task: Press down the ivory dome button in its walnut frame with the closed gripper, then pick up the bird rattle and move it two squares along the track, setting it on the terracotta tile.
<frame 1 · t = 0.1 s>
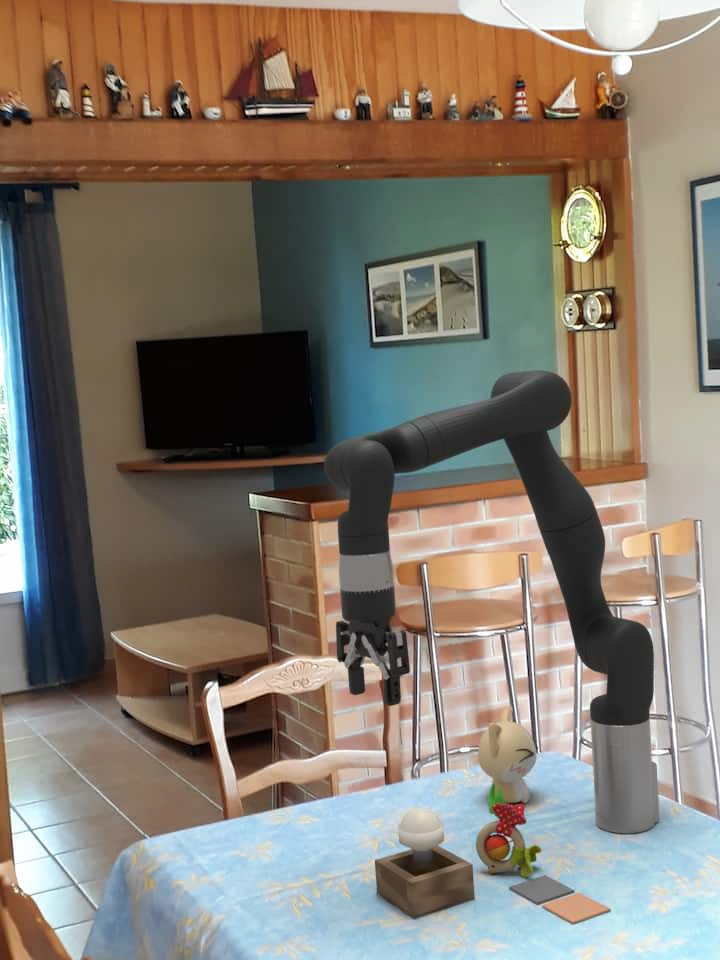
hand: (374, 699, 166), 29 cm above the table, tool pointing down, fingers open, 8 cm apart
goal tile: (576, 909, 162), on the table
button frame: (425, 896, 169), on the table
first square: (541, 890, 168), on the table
kitten: (509, 802, 204), on the table
bird rattle: (509, 875, 175), on the table
dome button: (421, 833, 168), point 9 cm above the table, slide at 0.0 cm
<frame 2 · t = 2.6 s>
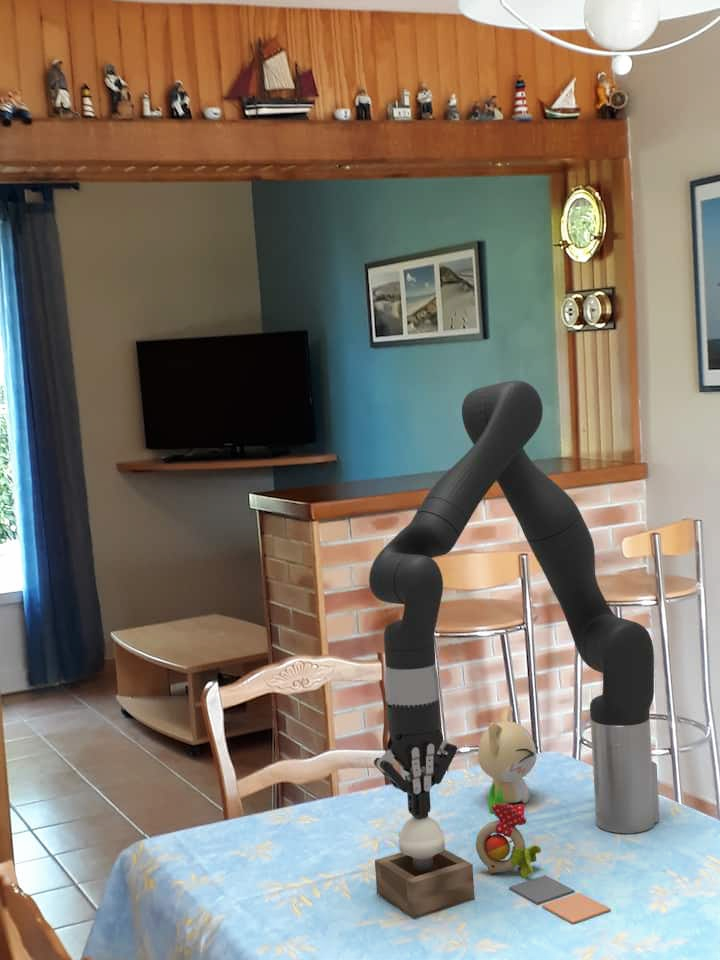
hand: (419, 816, 168), 12 cm above the table, tool pointing down, fingers closed
dome button: (421, 841, 168), point 8 cm above the table, slide at 1.2 cm, touching gripper
everything else where it was.
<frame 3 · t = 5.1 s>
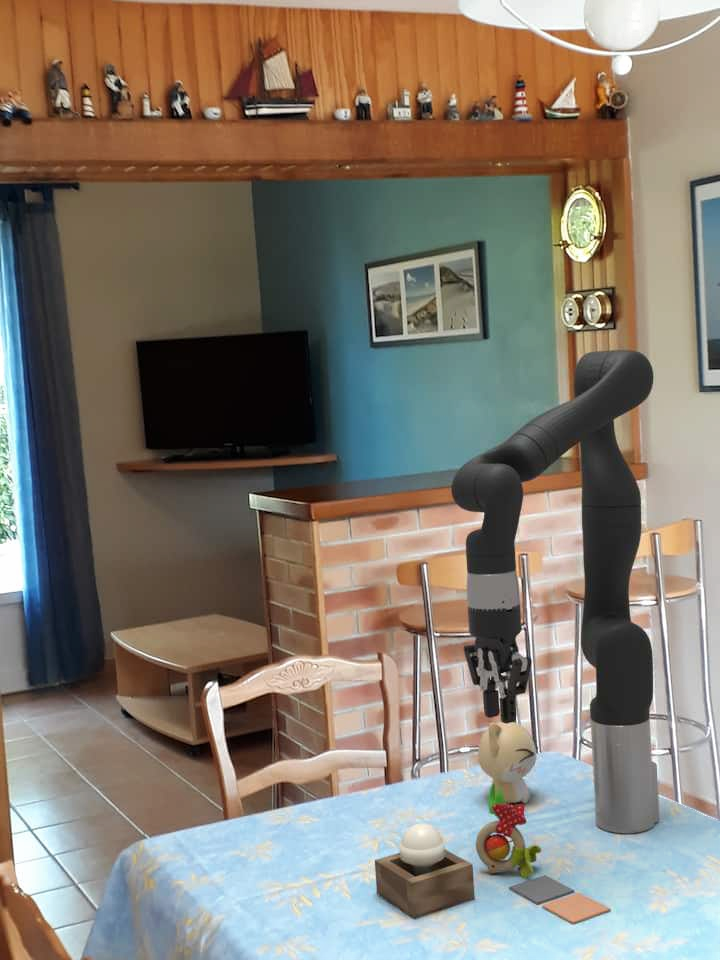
hand: (500, 718, 173), 23 cm above the table, tool pointing down, fingers open, 3 cm apart
dome button: (422, 849, 168), point 7 cm above the table, slide at 2.4 cm
everything else where it was.
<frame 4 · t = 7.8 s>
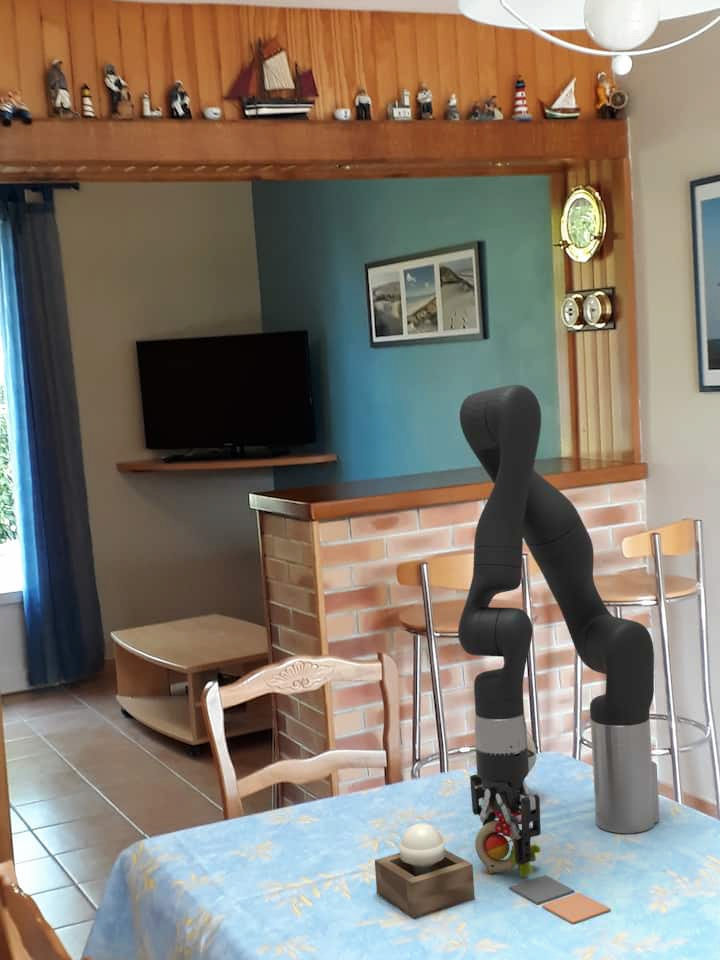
hand: (507, 854, 174), 3 cm above the table, tool pointing down, fingers closed on bird rattle, 7 cm apart
bird rattle: (508, 874, 175), on the table, touching gripper
everything else where it was.
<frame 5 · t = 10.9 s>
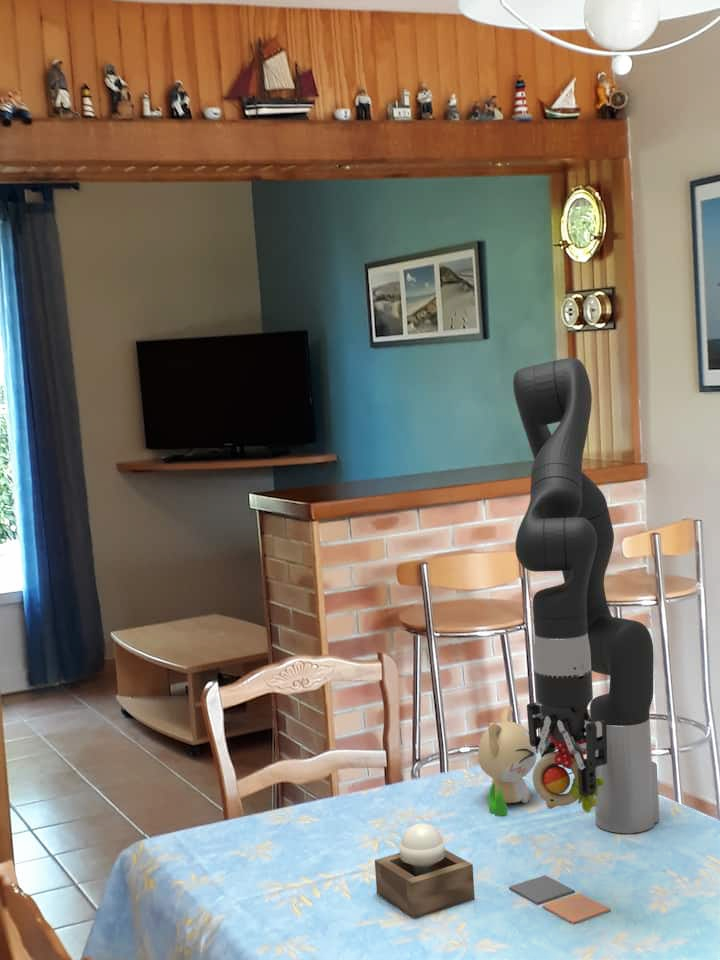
hand: (569, 787, 160), 17 cm above the table, tool pointing down, fingers closed on bird rattle, 7 cm apart
bird rattle: (569, 809, 161), point 14 cm above the table, touching gripper
everything else where it was.
when the fingers open (5 cm above the table, at t = 13.6 s): bird rattle drops 1 cm, resting on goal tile.
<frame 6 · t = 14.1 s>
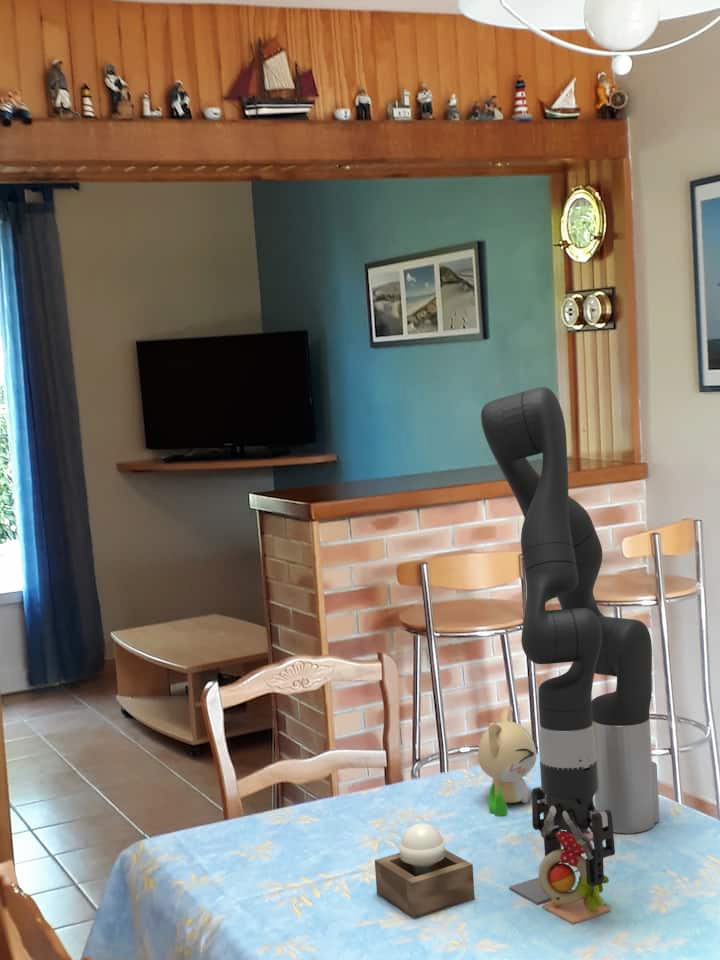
hand: (574, 873, 161), 5 cm above the table, tool pointing down, fingers open, 8 cm apart
bird rattle: (575, 907, 162), resting on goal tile
everything else where it was.
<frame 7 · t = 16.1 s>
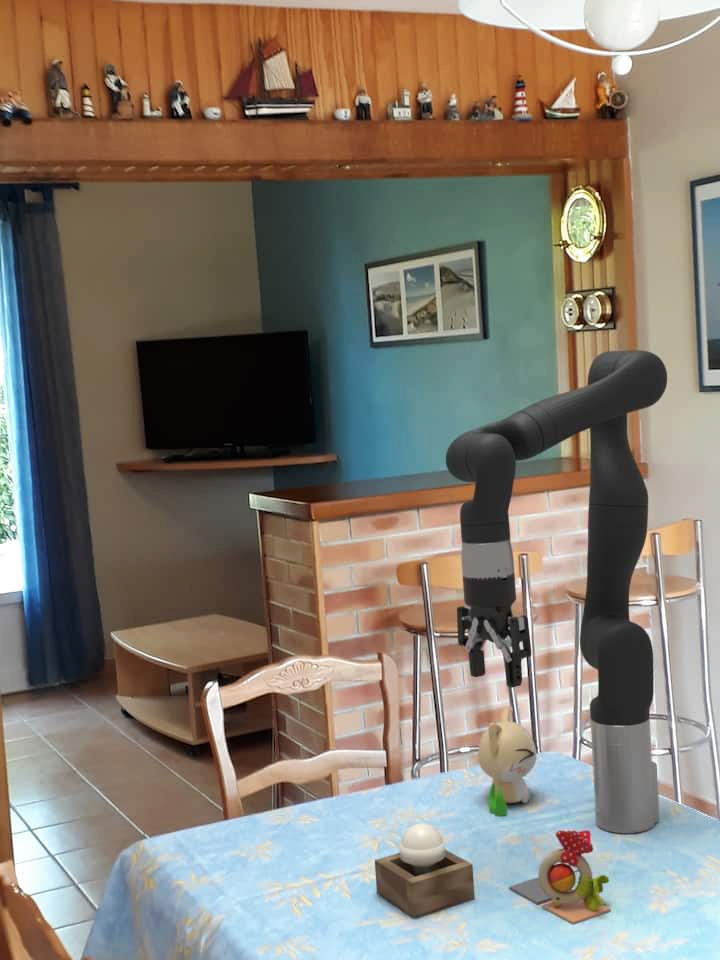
hand: (496, 681, 174), 28 cm above the table, tool pointing down, fingers open, 8 cm apart
nothing on the table moved.
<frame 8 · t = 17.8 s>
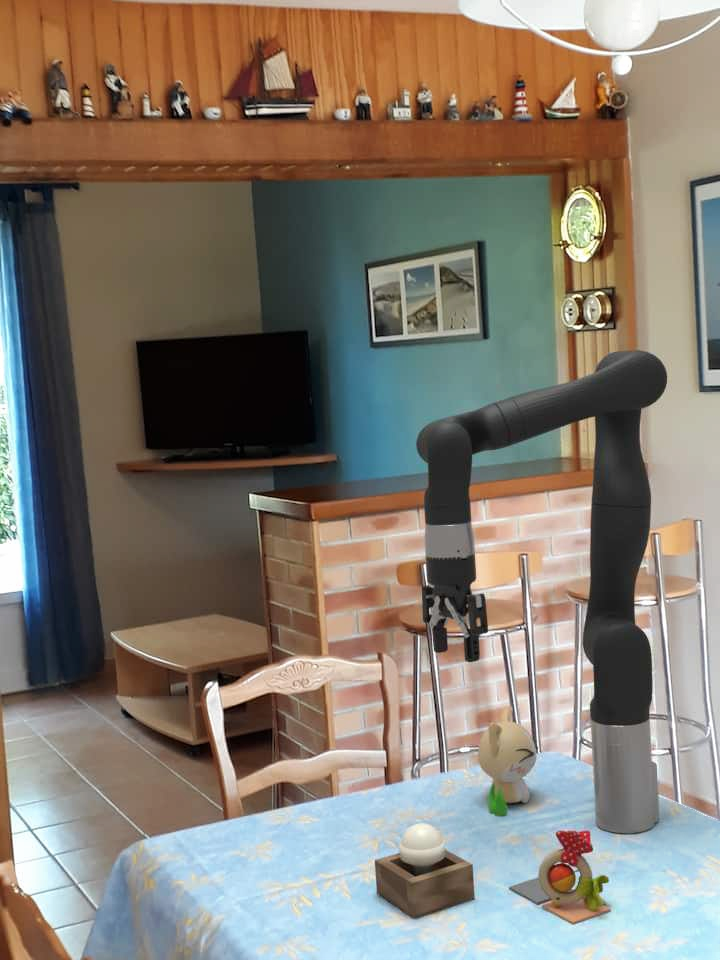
hand: (456, 656, 183), 30 cm above the table, tool pointing down, fingers open, 8 cm apart
nothing on the table moved.
at the end: dome button slide at 2.4 cm; bird rattle inside the target area (0.2 cm from its centre), on the table; the gripper is holding nothing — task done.
